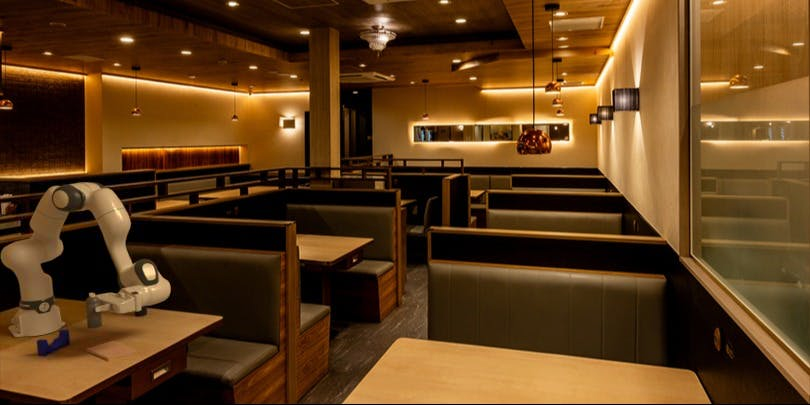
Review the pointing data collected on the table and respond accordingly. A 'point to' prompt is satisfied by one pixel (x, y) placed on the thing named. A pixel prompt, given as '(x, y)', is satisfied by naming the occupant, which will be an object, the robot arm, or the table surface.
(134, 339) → the table surface
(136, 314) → the drinking cup
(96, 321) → the charger plug
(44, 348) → the blue u-shaped bracket
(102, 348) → the board
